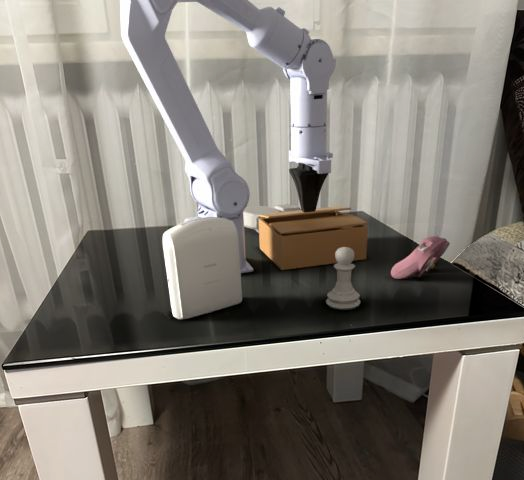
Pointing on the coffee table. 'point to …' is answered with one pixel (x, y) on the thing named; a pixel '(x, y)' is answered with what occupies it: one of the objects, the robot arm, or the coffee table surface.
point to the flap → (300, 212)
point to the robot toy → (253, 213)
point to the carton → (311, 238)
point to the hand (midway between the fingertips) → (308, 211)
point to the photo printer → (202, 266)
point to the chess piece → (343, 282)
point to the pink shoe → (421, 258)
